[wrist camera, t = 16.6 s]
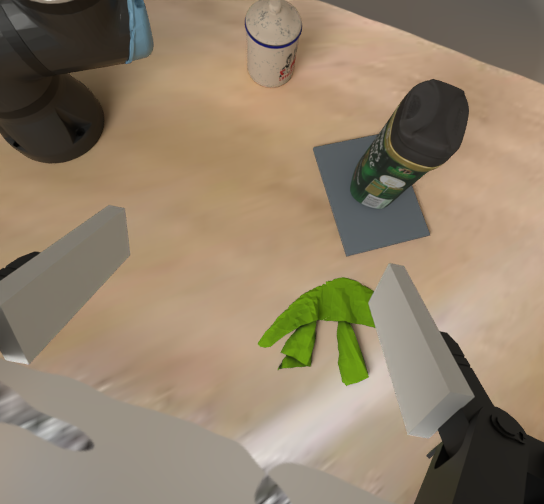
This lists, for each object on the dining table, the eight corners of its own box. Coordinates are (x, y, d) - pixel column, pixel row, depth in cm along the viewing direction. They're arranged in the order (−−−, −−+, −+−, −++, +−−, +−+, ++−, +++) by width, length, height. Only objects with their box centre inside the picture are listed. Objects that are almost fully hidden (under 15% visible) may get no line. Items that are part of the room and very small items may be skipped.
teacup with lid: (287, 95, 51) (296, 35, 40) (239, 81, 51) (236, 16, 40) (303, 45, 54) (317, -26, 43) (258, 31, 54) (259, -44, 42)
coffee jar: (358, 152, 49) (420, 61, 31) (400, 168, 49) (486, 86, 31) (342, 200, 47) (398, 132, 29) (385, 216, 47) (469, 159, 29)
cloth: (393, 285, 46) (400, 284, 44) (377, 428, 42) (385, 436, 39) (273, 260, 46) (274, 257, 43) (244, 402, 41) (244, 408, 39)
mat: (312, 149, 50) (313, 147, 49) (390, 133, 51) (391, 131, 51) (346, 256, 46) (347, 255, 45) (428, 235, 48) (430, 234, 47)
